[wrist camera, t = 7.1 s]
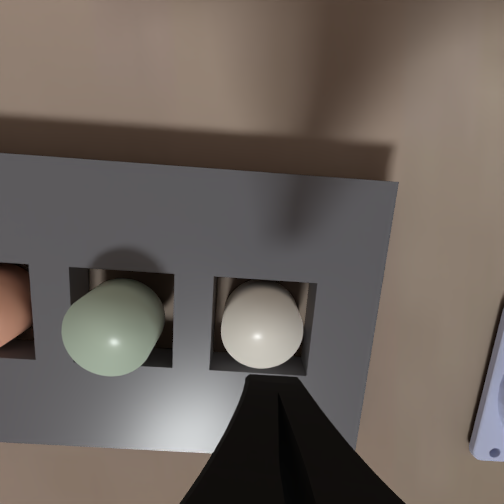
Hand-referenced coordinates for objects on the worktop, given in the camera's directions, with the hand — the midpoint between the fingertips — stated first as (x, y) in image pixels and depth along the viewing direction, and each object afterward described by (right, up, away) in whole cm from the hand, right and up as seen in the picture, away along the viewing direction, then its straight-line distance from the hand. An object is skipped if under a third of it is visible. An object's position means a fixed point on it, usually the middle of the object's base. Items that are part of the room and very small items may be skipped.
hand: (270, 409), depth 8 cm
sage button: (-6, +2, +5) cm, 8 cm away
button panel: (-6, +2, +6) cm, 8 cm away
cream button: (0, +1, +6) cm, 6 cm away
